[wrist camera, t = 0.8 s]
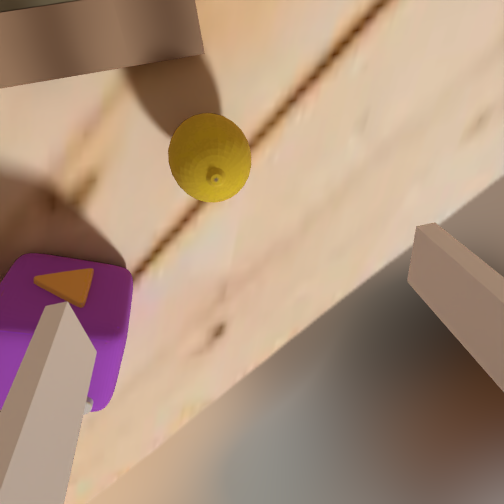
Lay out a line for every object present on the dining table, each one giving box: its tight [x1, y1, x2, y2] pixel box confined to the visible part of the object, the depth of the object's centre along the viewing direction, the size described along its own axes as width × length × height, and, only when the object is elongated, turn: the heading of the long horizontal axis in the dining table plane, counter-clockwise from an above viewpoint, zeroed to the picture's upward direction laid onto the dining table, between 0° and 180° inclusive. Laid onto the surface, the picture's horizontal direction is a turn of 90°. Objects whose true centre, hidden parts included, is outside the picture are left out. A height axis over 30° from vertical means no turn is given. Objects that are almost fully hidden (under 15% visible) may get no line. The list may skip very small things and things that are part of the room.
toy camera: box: [0, 253, 133, 415], centre depth 28 cm, size 11×14×10 cm
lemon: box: [168, 113, 251, 202], centre depth 24 cm, size 6×6×8 cm
